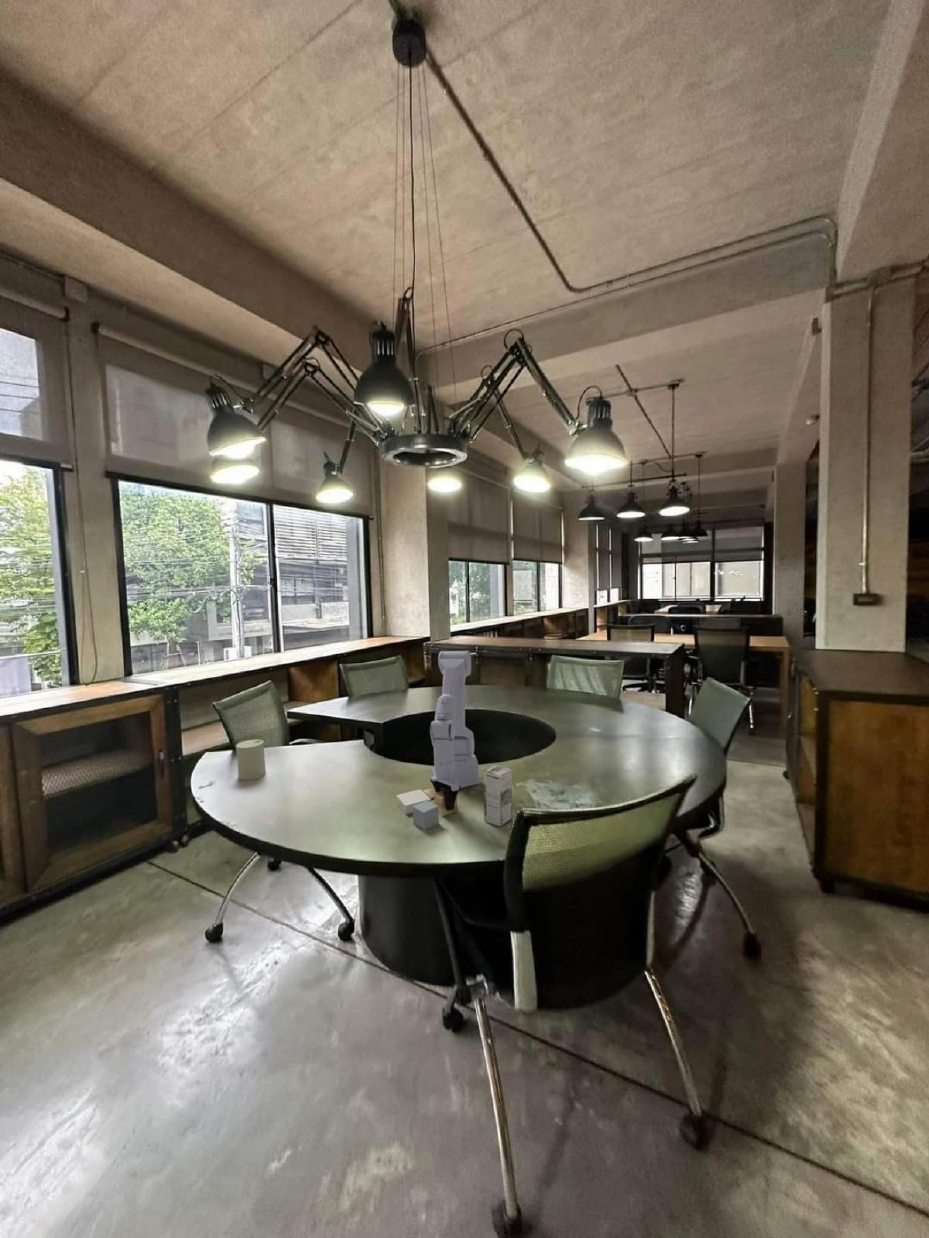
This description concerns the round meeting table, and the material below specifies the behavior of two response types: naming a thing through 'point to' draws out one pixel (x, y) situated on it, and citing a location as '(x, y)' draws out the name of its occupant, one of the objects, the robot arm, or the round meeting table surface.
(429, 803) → the slate cube
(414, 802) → the base block
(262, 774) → the can
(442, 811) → the maple cube
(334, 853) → the round meeting table surface
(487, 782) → the syrup box
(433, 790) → the tile
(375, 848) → the round meeting table surface
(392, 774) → the round meeting table surface
